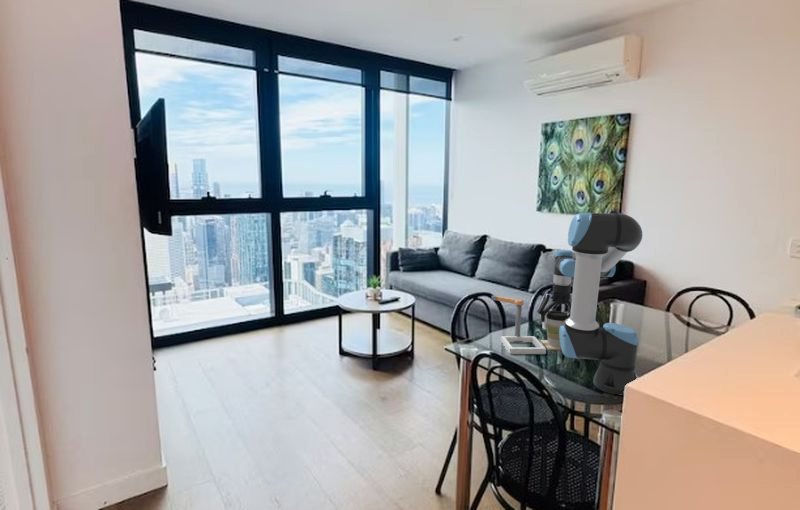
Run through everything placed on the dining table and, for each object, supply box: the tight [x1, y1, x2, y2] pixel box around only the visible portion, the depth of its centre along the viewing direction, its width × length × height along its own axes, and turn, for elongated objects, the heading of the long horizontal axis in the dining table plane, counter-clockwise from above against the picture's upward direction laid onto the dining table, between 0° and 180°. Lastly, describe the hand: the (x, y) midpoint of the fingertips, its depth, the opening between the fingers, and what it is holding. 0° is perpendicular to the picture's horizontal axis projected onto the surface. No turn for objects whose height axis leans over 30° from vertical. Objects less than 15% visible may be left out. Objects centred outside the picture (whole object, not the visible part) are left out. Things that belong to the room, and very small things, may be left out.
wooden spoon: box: [490, 294, 525, 306], centre depth 215 cm, size 16×4×2 cm, turn 51°
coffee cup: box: [546, 310, 569, 347], centre depth 207 cm, size 10×10×15 cm
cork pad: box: [539, 339, 562, 352], centre depth 209 cm, size 12×12×1 cm
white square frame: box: [500, 305, 547, 355], centre depth 206 cm, size 18×16×18 cm
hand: (558, 328), depth 207 cm, fingers open, 13 cm apart
